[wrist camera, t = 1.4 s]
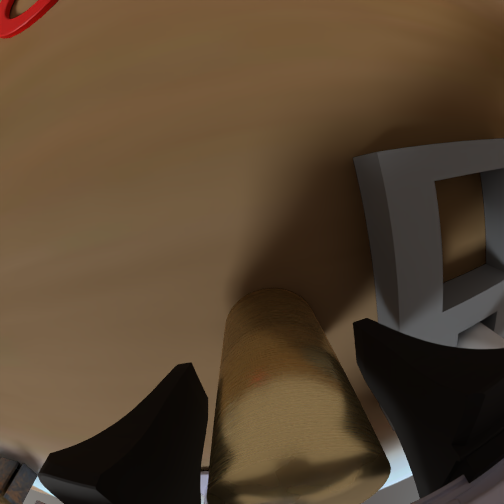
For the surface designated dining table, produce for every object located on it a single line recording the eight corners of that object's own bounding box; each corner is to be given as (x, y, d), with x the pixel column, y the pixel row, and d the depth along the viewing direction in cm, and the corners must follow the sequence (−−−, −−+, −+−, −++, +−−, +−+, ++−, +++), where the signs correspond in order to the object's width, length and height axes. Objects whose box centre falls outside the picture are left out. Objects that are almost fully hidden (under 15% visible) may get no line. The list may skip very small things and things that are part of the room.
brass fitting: (321, 354, 14) (382, 501, 5) (239, 374, 14) (237, 532, 5) (306, 277, 13) (399, 422, 4) (213, 301, 13) (174, 469, 4)
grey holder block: (495, 344, 15) (541, 381, 9) (379, 405, 15) (415, 471, 9) (495, 139, 11) (566, 136, 5) (352, 157, 12) (433, 140, 6)
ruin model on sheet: (23, 459, 18) (-4, 504, 9) (38, 473, 19) (14, 519, 9) (-6, 451, 19) (-29, 486, 9) (7, 464, 20) (-15, 500, 10)
